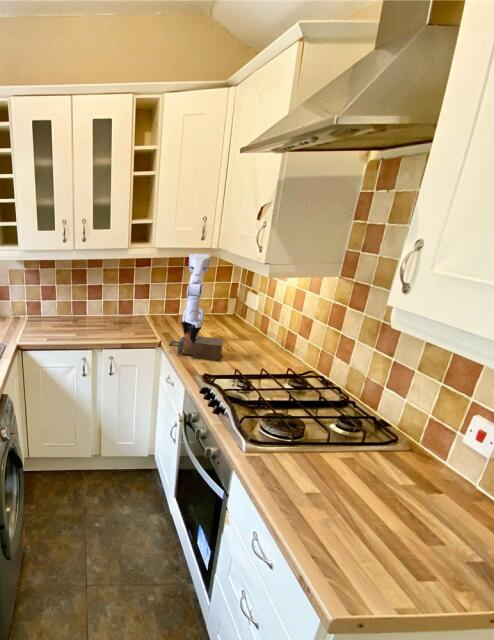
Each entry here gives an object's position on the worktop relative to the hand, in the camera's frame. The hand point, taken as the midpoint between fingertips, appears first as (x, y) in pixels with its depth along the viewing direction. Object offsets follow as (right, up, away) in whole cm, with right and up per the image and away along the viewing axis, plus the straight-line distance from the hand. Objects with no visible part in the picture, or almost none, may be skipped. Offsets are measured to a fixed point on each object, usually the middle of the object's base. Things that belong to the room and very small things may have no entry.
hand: (189, 338), depth 193 cm
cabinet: (+8, -8, 0) cm, 12 cm away
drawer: (-1, -6, +3) cm, 7 cm away
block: (0, -1, +1) cm, 1 cm away
